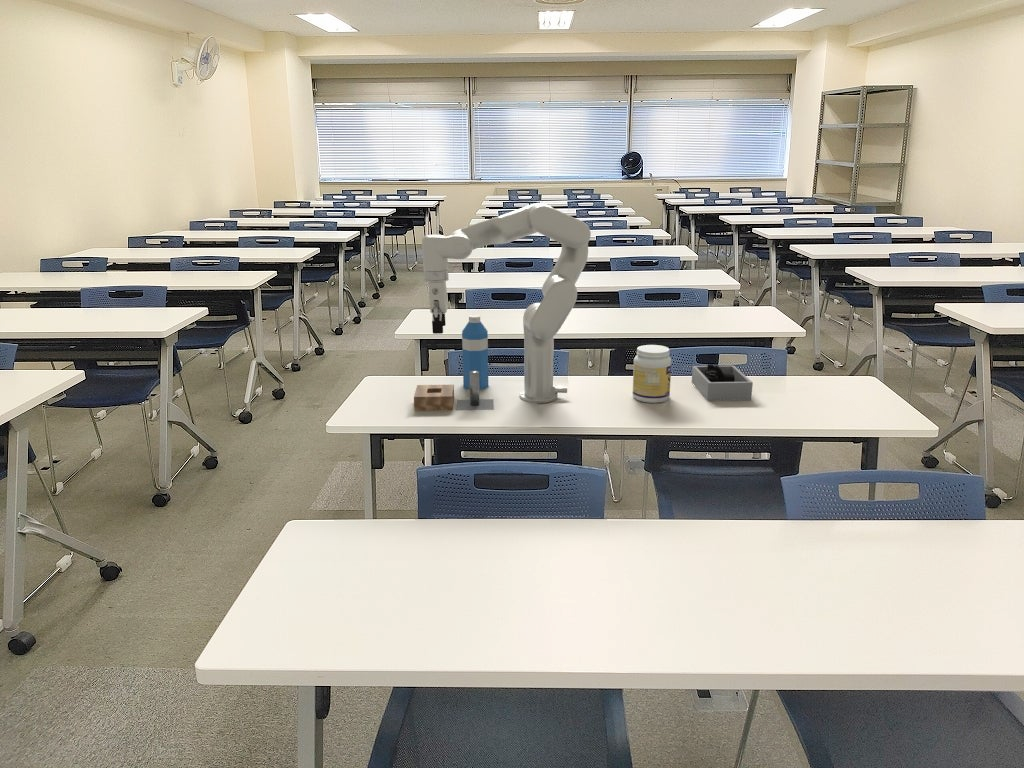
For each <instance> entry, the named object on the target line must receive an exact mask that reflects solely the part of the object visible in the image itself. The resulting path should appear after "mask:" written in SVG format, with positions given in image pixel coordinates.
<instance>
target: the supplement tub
mask: <svg viewBox="0 0 1024 768" xmlns="http://www.w3.org/2000/svg"><path fill="white" fill-rule="evenodd" d="M670 354H671V353H670V348H669V347H668V346H664V345H658V344H646V345H645V344H644V345H640V346H638V347H637V348H636V355H635V357H634V358H633V371H632V374H633V375H632V376H633V377H632V396H633V398H634V399H635V400H637V401H639V402H643V403H651V404H657V403H663V402H666V401H668V400H669V399H670V395H671V378H672V376H671V375H672V359H671V357H670Z"/></svg>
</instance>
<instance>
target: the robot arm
mask: <svg viewBox="0 0 1024 768" xmlns="http://www.w3.org/2000/svg"><path fill="white" fill-rule="evenodd" d="M536 233H538V234H540V235H543V236H544V237H547V238H548V239H550V240H553V241H555V242H557V243H560V244H561V252H560V254H559V257H558V259H557V261H556V263H555V265H554V267H553V268H552V269H551V271H550V272H549V274H548V276H547V277H546V279H545V280H544V282H543V285H542V287H541V292H542V297H543V298H542V300H541V301H540V302H534V303H531V304H530V305H528V306H527V308H526V309H525V311H524V313H523V316H522V322H523V323H522V325H523V326H522V327H523V339H524V340H523V342H524V344H523V346H524V352H523V353H524V355H523V357H524V358H523V359H524V361H523V364H524V366H523V367H524V369H523V371H524V372H523V373H524V377H523V378H524V379H523V380H524V381H523V382H524V383H523V384H524V388H523V389H524V390H522V391H520V393H519V398H520V399H521V400H522V401H524V402H527V403H534V404H547V403H551V402H554V401H556V400H557V399H558V397H559V395H558V394H568V387H567V386H563V385H555V381H554V351H555V348H554V346H555V345H554V342H555V341H554V340H555V339H554V336H555V335H557V334H558V332H559V330H560V329H561V328H562V326H563V324H564V323H565V321H566V320H567V318H568V316H569V315H570V313H571V311H572V309H573V308H574V306H575V304H576V302H577V299H578V289H577V287H576V283H577V282H578V280H579V278H580V276H581V274H582V272H583V270H584V269H585V266H586V264H587V261H588V255H589V242H590V239H591V235H592V234H591V229H590V227H589V226H588V224H587V222H585V221H582V220H580V219H579V218H576V217H573V216H572V215H569V214H567V213H565V212H563V211H560V210H558V209H556V208H554V207H552V206H551V205H548V204H546V203H542V202H536V203H531V204H529V205H526V206H523V207H521V208H518V209H515V210H512V211H510V212H507V213H504V214H501V215H499V216H495V217H492V218H489V219H487V220H484V221H481V222H480V221H479V222H477V223H474V224H471V225H468V226H465V227H462V228H460V229H457V230H455V231H452V232H451V233H450V234H449V235H448V236H445V235H442V234H426V235H424V236H423V237H422V239H421V248H422V250H421V251H422V263H423V265H422V266H423V281H424V282H425V283H427V285H428V301H429V310H430V311H429V312H430V313H431V315H432V317H431V320H432V321H431V324H432V325H431V326H432V328H431V329H432V334H433V335H436V334H443V333H444V327H445V326H446V313H447V311H448V308H449V303H448V291H447V289H448V288H447V281H449V263H448V262H449V261H448V259H452V260H465V259H467V258H468V257H470V256H471V254H472V252H473V251H474V250H477V249H479V248H482V247H487V246H489V245H503V244H508V243H512V242H514V241H516V240H520V239H522V238H525V237H528V236H531V235H533V234H536Z"/></svg>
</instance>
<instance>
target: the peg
mask: <svg viewBox="0 0 1024 768" xmlns="http://www.w3.org/2000/svg"><path fill="white" fill-rule="evenodd" d="M469 399H470V405H471V406H478V405H480V399H481V397H480V389H479V371H476V370H473V371H470V389H469Z"/></svg>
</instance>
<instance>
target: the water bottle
mask: <svg viewBox="0 0 1024 768" xmlns="http://www.w3.org/2000/svg"><path fill="white" fill-rule="evenodd" d="M488 331H489V330H488V329H487V328H486V327H485V326H484V324H483V322H482V321H481V314H480V315H479V314H470V315H468V321H467V323H466V325H465V326H464V328H463V329H462V332H461V341H462V342H461V345H462V349H461V350H462V378H463V379H462V380H463V381H462V383H463V384H462V385H463V388H465V389H468V390H470V371H473V370H476V371H479V390H482V389H486V388H489V344H488V343H489V341H488V340H489V339H488V337H489V336H488Z"/></svg>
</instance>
